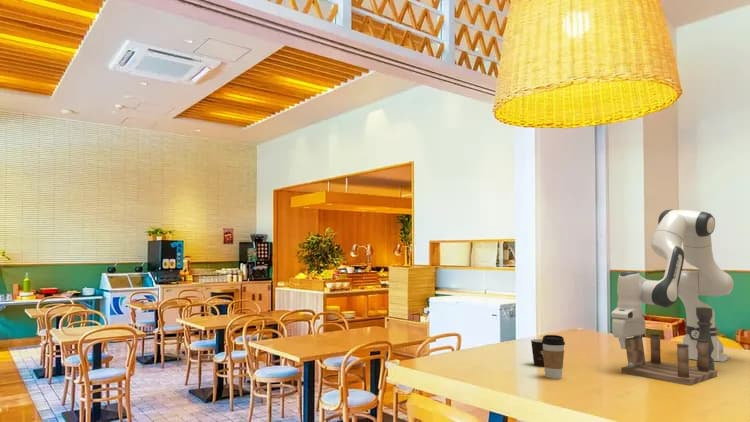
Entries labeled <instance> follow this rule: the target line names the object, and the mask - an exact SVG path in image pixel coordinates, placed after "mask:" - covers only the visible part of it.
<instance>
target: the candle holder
mask: <svg viewBox="0 0 750 422" xmlns="http://www.w3.org/2000/svg"><path fill="white" fill-rule="evenodd" d="M712 308H713V307H712ZM712 308H705V307H696V316H697V318H698V320H699V322H697V324H698V326H699V336H698V339H702V340H708V355H709V370H714V371H716V370H715V369H716V368H715V363H714V362H715V361H714V360H713V358H712V357H711V355H712V354H711V353H712V352H713V350H714V346H713V343H712V339H711V335H710V327H711V325H712V323H710V321H711V319H712ZM696 348H697V350H698V347H697V344H696ZM696 368H698V357H697V360H696Z"/></svg>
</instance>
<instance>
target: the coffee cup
mask: <svg viewBox="0 0 750 422" xmlns="http://www.w3.org/2000/svg"><path fill="white" fill-rule="evenodd" d="M542 339H543V340H542V344H543V358H544V367H543V368H544V375H545V378H547V379H550V380H551V379H552V380H560V379H563V368H564V355H565V349H564V347H565V345H566V342H565V340H564V336H561V335H556V334H545V335H544V336H542Z"/></svg>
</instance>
